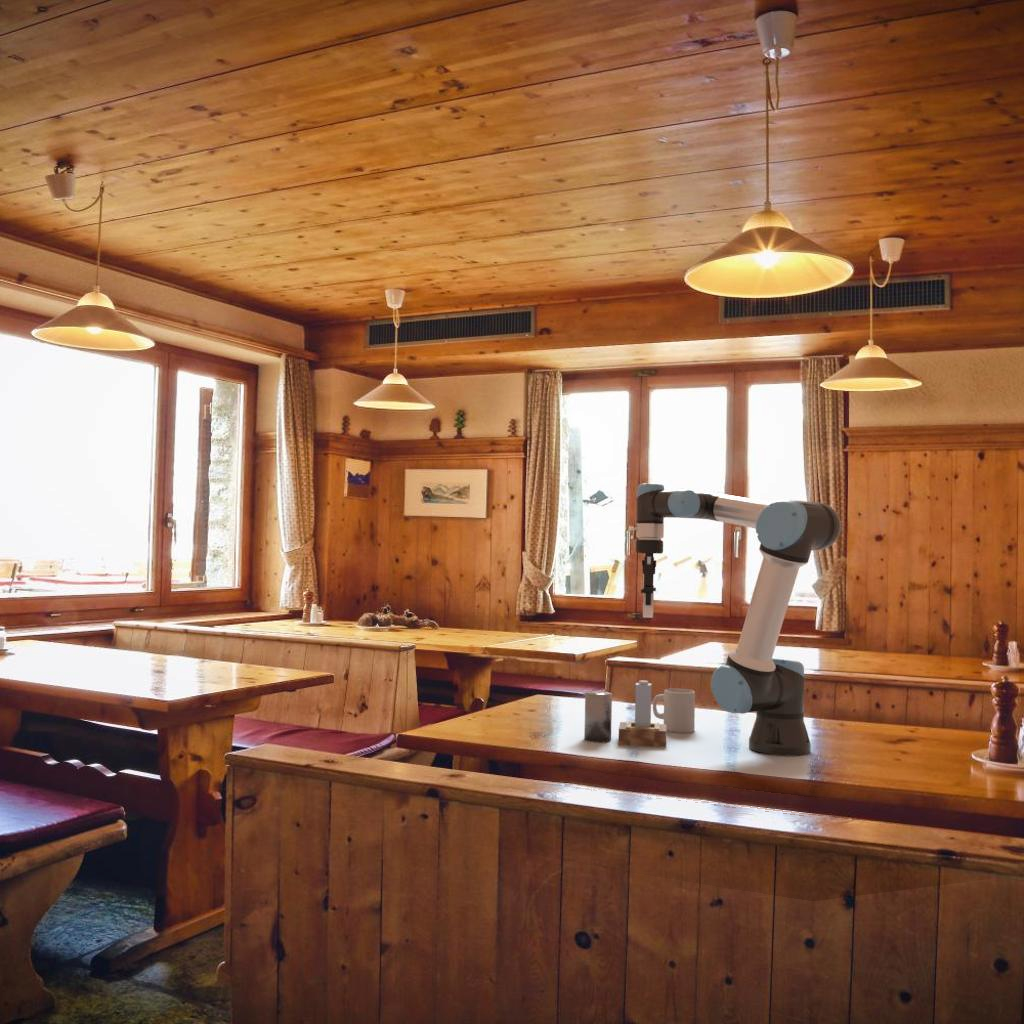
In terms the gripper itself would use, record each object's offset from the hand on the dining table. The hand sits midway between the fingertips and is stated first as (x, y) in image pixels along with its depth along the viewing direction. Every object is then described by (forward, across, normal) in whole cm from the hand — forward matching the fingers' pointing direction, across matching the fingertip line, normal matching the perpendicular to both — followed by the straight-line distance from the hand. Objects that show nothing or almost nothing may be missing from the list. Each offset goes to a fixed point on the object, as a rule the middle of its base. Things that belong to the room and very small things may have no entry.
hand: (648, 616), depth 264 cm
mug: (+32, -5, +7) cm, 33 cm away
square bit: (+32, +15, -1) cm, 35 cm away
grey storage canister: (+32, +15, -12) cm, 37 cm away
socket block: (+32, +15, -1) cm, 35 cm away
